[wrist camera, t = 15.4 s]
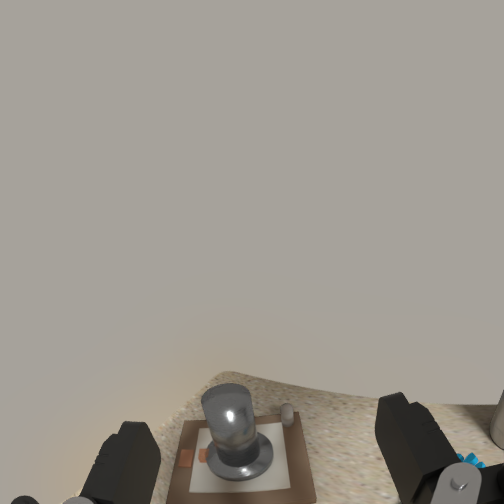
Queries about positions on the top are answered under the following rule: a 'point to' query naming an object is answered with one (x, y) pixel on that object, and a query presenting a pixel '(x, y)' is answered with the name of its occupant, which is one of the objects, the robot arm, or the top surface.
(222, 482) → the mount board
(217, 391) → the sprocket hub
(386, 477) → the top surface
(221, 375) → the top surface
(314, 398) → the top surface
